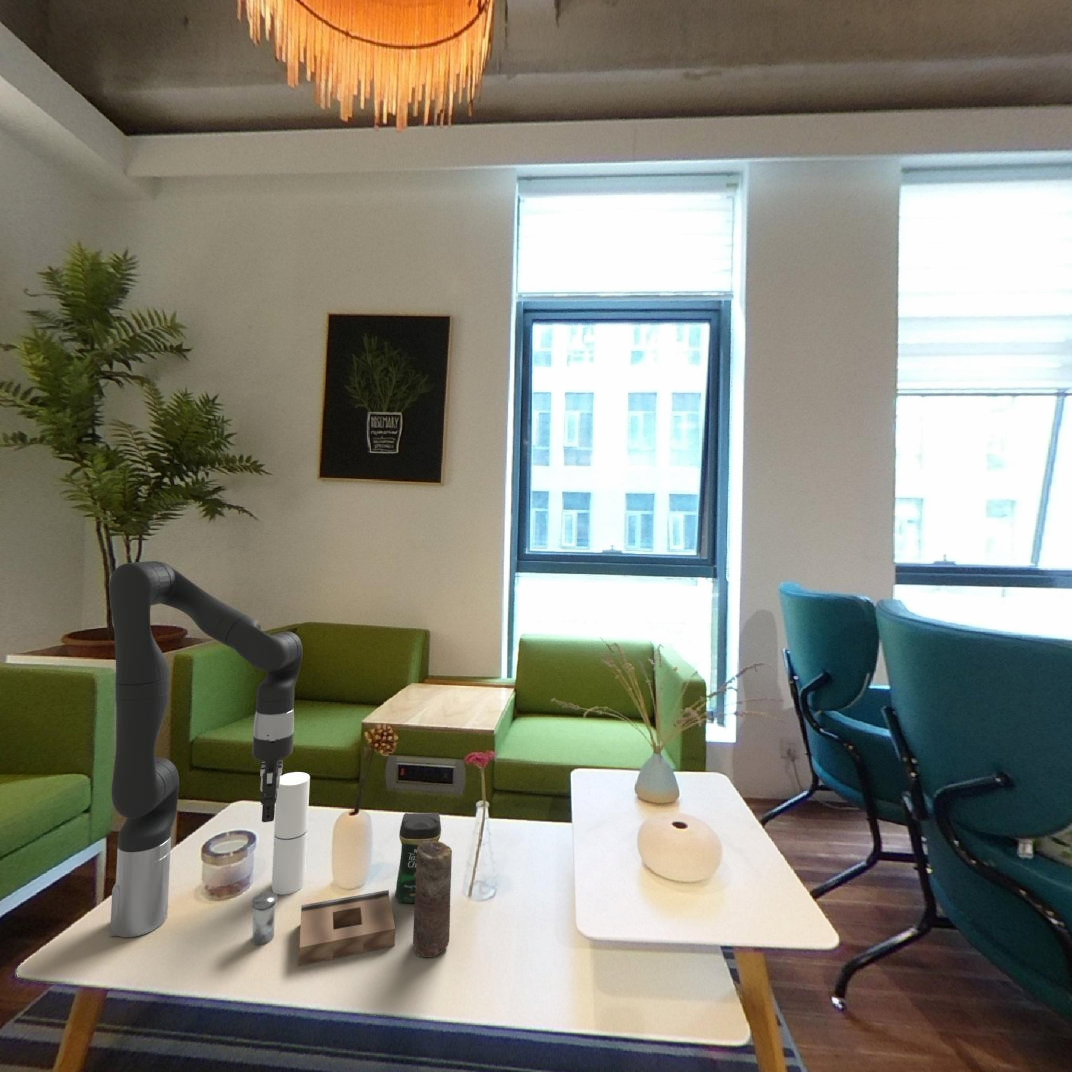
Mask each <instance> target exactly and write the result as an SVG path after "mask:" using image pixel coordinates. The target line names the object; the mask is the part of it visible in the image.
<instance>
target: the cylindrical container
mask: <svg viewBox="0 0 1072 1072" xmlns="http://www.w3.org/2000/svg"><path fill="white" fill-rule="evenodd" d="M310 781H311V776H310V774H308V773H306V772H300V771H294V772H287V773H284V774H283V775H282V774H281V776H280V786H279V789H278V790H277V800H276V802H275V814H274V827H273V828H274V832H273V851H272V853H273V854H272V855H273V856H272V876H271V892H274V893H276V894H277V895H284V896H285V895H289V894H295V893H296V892H298V891H300V890H301V889H303V887H304V886H305V883H306V865H307V864H306V863H307V861H306V860H307V847H308V827H309V825H308V823H309V800H310V783H311V782H310Z"/></svg>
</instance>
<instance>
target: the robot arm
mask: <svg viewBox="0 0 1072 1072" xmlns="http://www.w3.org/2000/svg"><path fill="white" fill-rule="evenodd" d="M108 589H109V590H108V591H109V594H108V595H109V601H110V602H109V603H110V610H111V617H112V624H113V625H112V626H113V632H114V653H115V683H114V684H115V685H114V686H115V688H114V689H115V709H116V710H115V711H116V712H115V714H116V715H115V717H116V718H115V742H116V743H115V756H114V757H115V759H114V766H113V775H112V782H111V783H112V784H111V801H112V804H113V807H114V809H115V810H116V812H117V813H118V814H119V815H120V816H122V817H124V818H126V820H125V822H124V823H123V825H122V827H121V828H120V830H119V831H118V835H117V852H116V853H117V855H116V875H115V884H114V885H113V887H112V890H111V908H110V909H111V910H110V925H109V926H110V929H109V930H110V932H109V937H114V936H118V937H120V938H134V937H139V936H143V935H146V934H149V933H151V932H152V931H154V930H156V929H157V928H159V927H160V926H161V925H162V924H164V922H165V921H166V919H167V918H168V912H169V911H168V910H169V891H170V889H169V888H170V887H169V886H170V869H171V867H170V866H171V845H172V844H171V843H172V841H171V840H172V829H173V826H174V823H175V820H176V817H177V812H178V800H179V789H180V788H179V787H180V776H179V771H178V769H177V767H176V765H175V764H174V763H173V762H172V761H171V760H169V759H168V758H165V757H161V756H159V757H158V756H157V757H156V748H157V742H158V741H157V740H158V737H159V735H160V732H161V728H162V726H163V723H164V719H165V717H166V713H167V710H168V707H169V703H170V696H171V693H170V692H171V686H170V685H171V682H170V681H171V675H170V673H171V672H170V666H169V663H168V661H167V659H166V657H165V655H164V653H163V651H162V649H161V648H160V646H159V645H158V644H157V641H156V639H155V638H154V635H153V632H152V627H151V607H152V606H155V605H160V604H161V605H165V606H168V607H171V608H173V609H176V610H179V611H181V612H183V613H184V614H185V615H187V616H188V617H190V619H192V621H193V622H194V624H195V625H196V626H197V627H198V628H199V630H201V632H203V633H204V634H205V635H207V636H209V637H211V638H212V639H213V640H215V641H217V642H219V643H221V644H223V645H225V646H227V647H229V648H230V649H233V650H235V652H237V653H238V655H239V656H241V657H242V658H243V659H244V660H245V661H247V662H248V664H250V665H251V666H253V667H254V668H256V669H258V670H261V671H264V672H267V673H266V676H265V677H264V679H262V681H261V682H260V683H259V685H258V687H257V689H256V690H257V691H256V701H255V702H256V705H255V707H256V708H255V715H254V720H253V734H252V750H251V751H252V753H251V755H252V757H253V758H254V759H255V760H257V761H262V762H261V766H260V772H259V773H260V774H259V775H260V777H261V778H260V787H259V788H260V792H261V800H260V804H261V806H262V808H261V810H262V812H261V822H262V823H269V822H274V821H275V808H276V800H277V790H278V789H279V786H280V776H282V773H283V767H284V766H283V764H284V760H282V759H286V758H288V757H289V756H291V755H292V753H293V751H294V750H293V749H294V732H295V728H294V727H295V713H294V712H295V711H294V710H295V709H294V708H295V706H294V705H295V687H296V683H297V681H298V677H299V673H300V670H301V666H302V661H303V654H304V652H303V651H304V650H303V643H302V640H301V639H300V637H299V635H297V634H296V633H295V632H292V631H280V632H278V633H274V634H268V633H266V632H264V631H263V630H262V627H261V623H260V622H259V621H258V619H255V618H254V617H253V616H250V615H248V614H246V613H244V612H243V611H241V610H238V609H236V608H234V607H232V606H230V605H229V604H227V603H225V602H223V601H221V600H220V599H218V598H216V597H214V596H212V595H211V594H210V593H208V592H207V591H205V590H204V589H203V588H201V586H200V587H199V586H198V585H197V584H195V583H194V582H193V581H191V580H190V579H189V578H188V577H186V576H185V575H183V574H182V573H181V572H179V571H178V570H177V569H176V568H174V567H173V566H171V565H169V564H167V563H166V562H162V561H157V560H152V561H151V560H150V561H148V560H147V561H136V562H135V561H134V562H127V563H122V564H120V565H118V566H117V567H116V568H115V569H114V571H113V572H112V574H111V577H110V579H109V586H108Z"/></svg>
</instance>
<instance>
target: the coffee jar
mask: <svg viewBox="0 0 1072 1072" xmlns="http://www.w3.org/2000/svg"><path fill="white" fill-rule="evenodd" d="M399 828H400V829H399V836H398V837H399V840H400V844H401V848H400V849H401V850H400V860H399V864H398V865H399V866H398V872H397V879H396V885H395V886H396V887H395V896H396V897H395V898H396V899H397V900H398V901H399V902H400V903H403V904H404V903H405V904H406V903H407V904H415V890H416V864H417V848H418V846H419V845H420V844H422V843H427V842H435V841H439V840H440V839H441V836H442V824H441V815H440V813H439V812H410V813H409V812H405V813H404V814H403V816H402V820H401V824H400V827H399Z"/></svg>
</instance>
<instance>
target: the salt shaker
mask: <svg viewBox="0 0 1072 1072" xmlns="http://www.w3.org/2000/svg"><path fill="white" fill-rule="evenodd" d="M277 902H278V894H276V893H274V892H273V891H265V892H264V891H263V892H261V893H259V894H257V895H256V896H254V897H253V898H252V900H251V903H252V904H251V906H252V909H253V914H252V918H253V919H252V937H251V941H252V943H253V945H256V946H263V945H266V944H268V943H270V942H271V941H272V940H274V936H275V921H276V920H275V919H276V918H275V917H276V904H277Z"/></svg>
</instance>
